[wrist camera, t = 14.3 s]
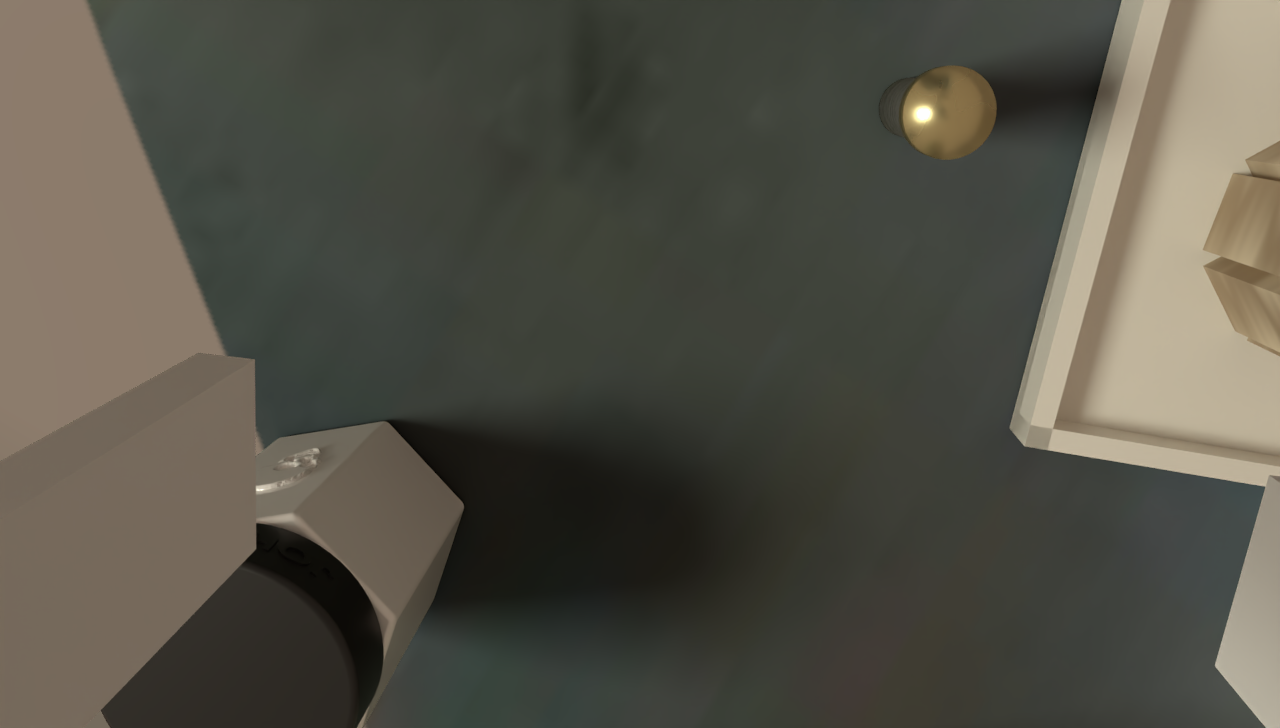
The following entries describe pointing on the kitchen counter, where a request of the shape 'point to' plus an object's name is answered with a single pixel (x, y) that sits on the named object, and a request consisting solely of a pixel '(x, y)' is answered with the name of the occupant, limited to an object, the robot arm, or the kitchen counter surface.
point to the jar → (309, 592)
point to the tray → (1160, 254)
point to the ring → (1250, 250)
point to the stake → (940, 111)
